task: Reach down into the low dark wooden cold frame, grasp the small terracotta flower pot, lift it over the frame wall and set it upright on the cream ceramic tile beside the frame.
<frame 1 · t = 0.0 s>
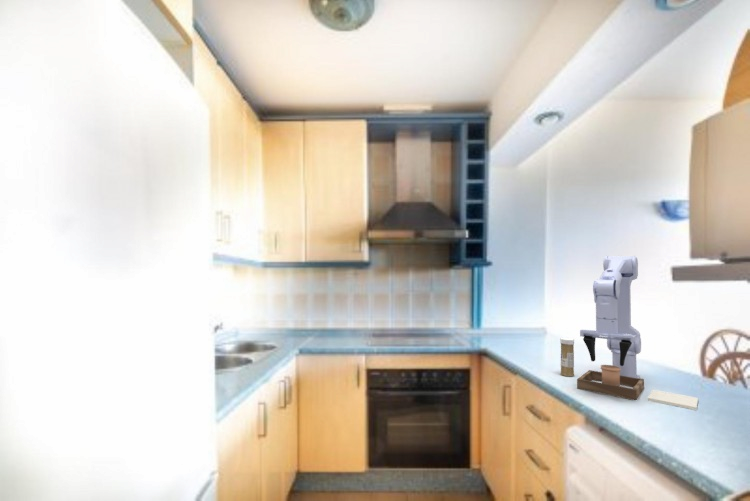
hand: (607, 362, 116), 10 cm above the worktop, tool pointing down, fingers open, 7 cm apart
ceramic tile: (673, 400, 112), on the worktop
sprinkles bottle: (567, 375, 138), on the worktop
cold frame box: (610, 388, 123), on the worktop
terracotta pot: (610, 377, 123), in the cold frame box
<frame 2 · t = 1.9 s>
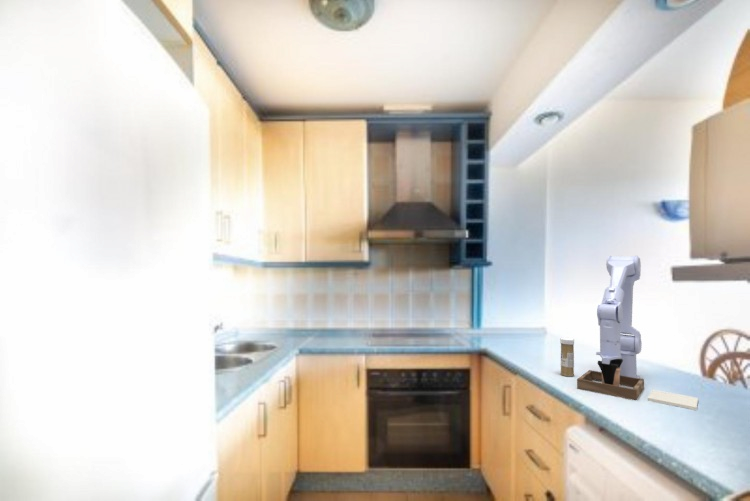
hand: (610, 382, 123), 2 cm above the worktop, tool pointing down, fingers closed on terracotta pot, 5 cm apart
terracotta pot: (610, 377, 123), in the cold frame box, touching gripper
everything else where it was.
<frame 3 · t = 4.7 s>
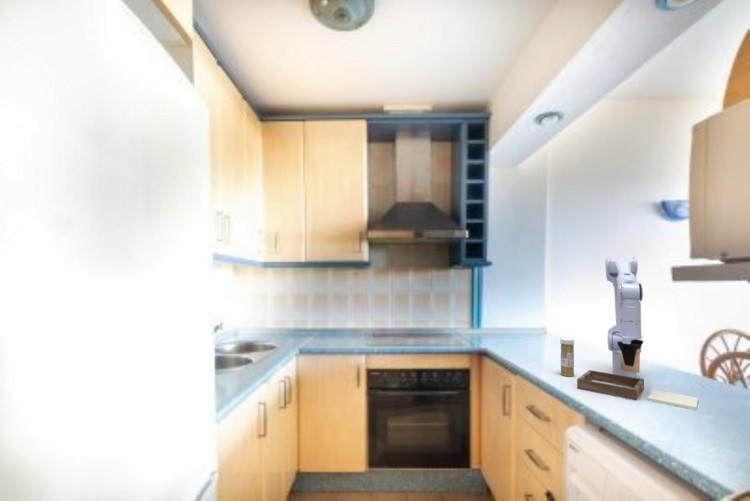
hand: (630, 364, 120), 9 cm above the worktop, tool pointing down, fingers closed on terracotta pot, 5 cm apart
terracotta pot: (630, 359, 120), point 10 cm above the worktop, touching gripper
everything else where it was.
when the fingers open (4 cm above the worktop, at t = 7.4 s): terracotta pot moves 1 cm, resting on ceramic tile.
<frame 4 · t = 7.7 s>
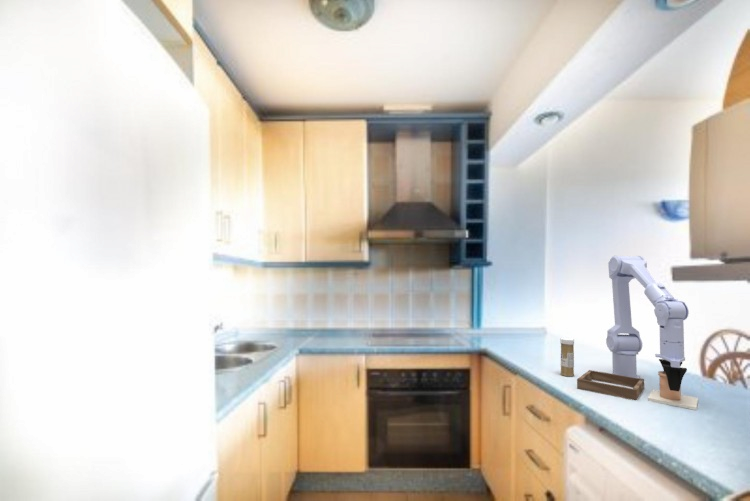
hand: (672, 387, 113), 4 cm above the worktop, tool pointing down, fingers open, 7 cm apart
terracotta pot: (669, 385, 113), on the ceramic tile, point 4 cm above the worktop
everything else where it was.
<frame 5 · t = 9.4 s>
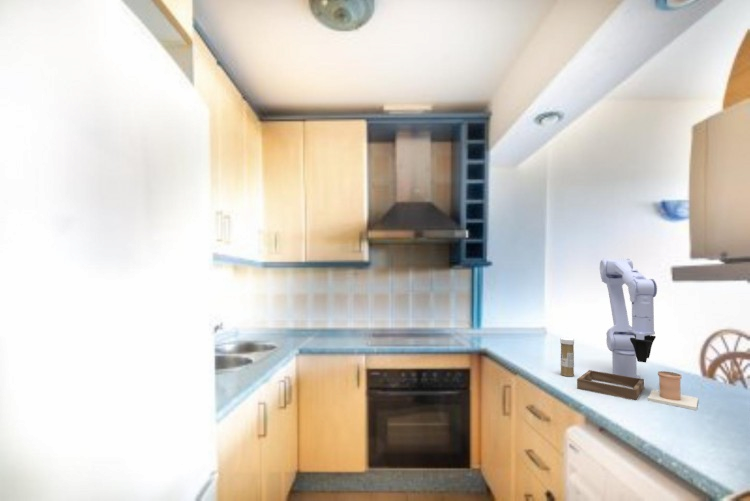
hand: (643, 359, 120), 10 cm above the worktop, tool pointing down, fingers open, 7 cm apart
nothing on the worktop moved.
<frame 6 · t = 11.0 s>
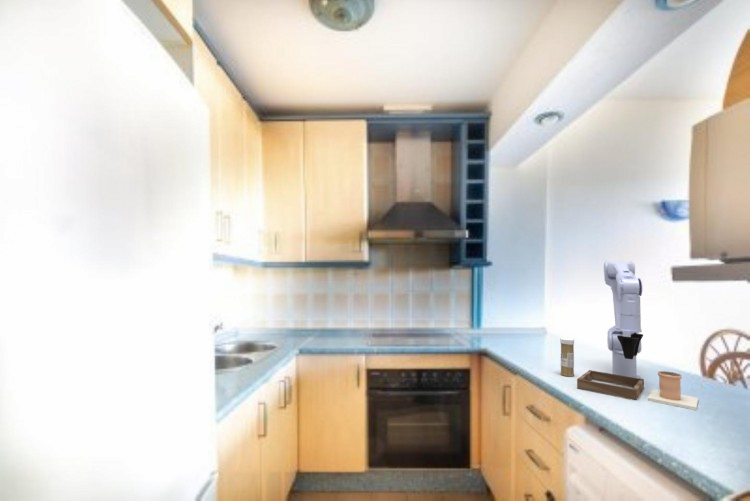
hand: (630, 357, 123), 10 cm above the worktop, tool pointing down, fingers open, 7 cm apart
nothing on the worktop moved.
at the end: terracotta pot inside the target area on the ceramic tile (0.8 cm from its centre), point 4.3 cm above the ceramic tile's base; terracotta pot tilted 0°; the gripper is holding nothing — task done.
